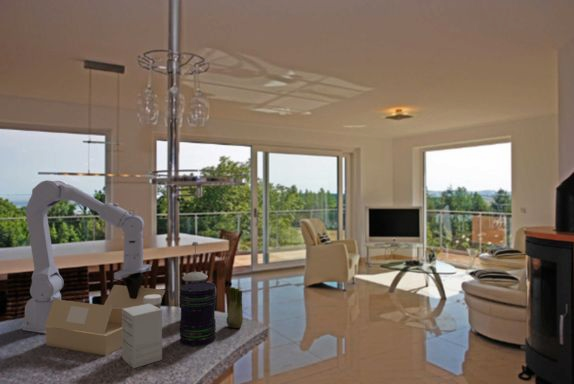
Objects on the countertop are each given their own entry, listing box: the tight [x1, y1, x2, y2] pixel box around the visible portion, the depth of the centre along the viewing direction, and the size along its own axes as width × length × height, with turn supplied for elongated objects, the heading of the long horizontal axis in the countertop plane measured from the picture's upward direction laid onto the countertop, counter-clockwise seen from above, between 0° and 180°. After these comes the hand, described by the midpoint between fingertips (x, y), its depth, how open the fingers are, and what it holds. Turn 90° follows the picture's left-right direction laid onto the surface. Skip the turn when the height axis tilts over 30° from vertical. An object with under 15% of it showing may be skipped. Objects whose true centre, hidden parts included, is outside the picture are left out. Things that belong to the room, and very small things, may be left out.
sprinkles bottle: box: [143, 294, 162, 309], centre depth 110 cm, size 5×5×14 cm
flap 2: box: [103, 284, 166, 309], centre depth 128 cm, size 19×7×1 cm
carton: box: [45, 307, 123, 356], centre depth 116 cm, size 20×20×5 cm
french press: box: [178, 241, 217, 323], centre depth 132 cm, size 10×12×25 cm
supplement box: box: [121, 304, 163, 369], centre depth 101 cm, size 7×7×13 cm
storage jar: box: [179, 281, 217, 348], centre depth 115 cm, size 10×10×15 cm
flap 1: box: [45, 299, 114, 335], centre depth 108 cm, size 19×7×1 cm
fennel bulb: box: [226, 286, 244, 329], centre depth 125 cm, size 6×5×12 cm
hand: (133, 298), depth 128 cm, fingers closed, pressing on flap 2
